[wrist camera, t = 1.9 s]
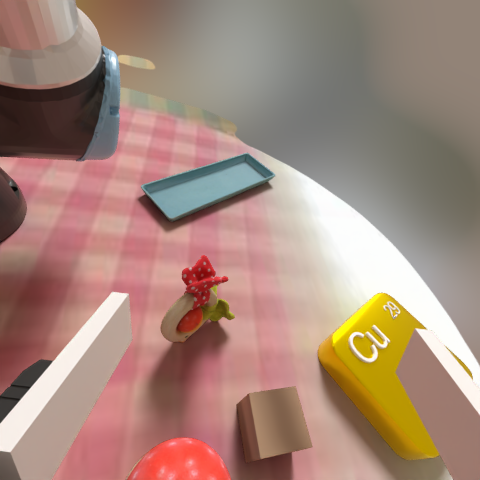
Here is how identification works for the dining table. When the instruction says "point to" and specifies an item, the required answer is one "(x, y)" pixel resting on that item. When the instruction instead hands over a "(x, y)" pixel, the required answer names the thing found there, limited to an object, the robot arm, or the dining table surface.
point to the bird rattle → (195, 303)
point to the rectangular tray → (206, 185)
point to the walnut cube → (272, 424)
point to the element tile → (379, 372)
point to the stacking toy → (180, 462)
